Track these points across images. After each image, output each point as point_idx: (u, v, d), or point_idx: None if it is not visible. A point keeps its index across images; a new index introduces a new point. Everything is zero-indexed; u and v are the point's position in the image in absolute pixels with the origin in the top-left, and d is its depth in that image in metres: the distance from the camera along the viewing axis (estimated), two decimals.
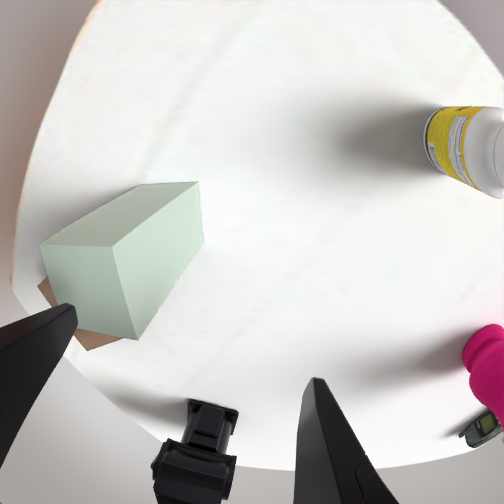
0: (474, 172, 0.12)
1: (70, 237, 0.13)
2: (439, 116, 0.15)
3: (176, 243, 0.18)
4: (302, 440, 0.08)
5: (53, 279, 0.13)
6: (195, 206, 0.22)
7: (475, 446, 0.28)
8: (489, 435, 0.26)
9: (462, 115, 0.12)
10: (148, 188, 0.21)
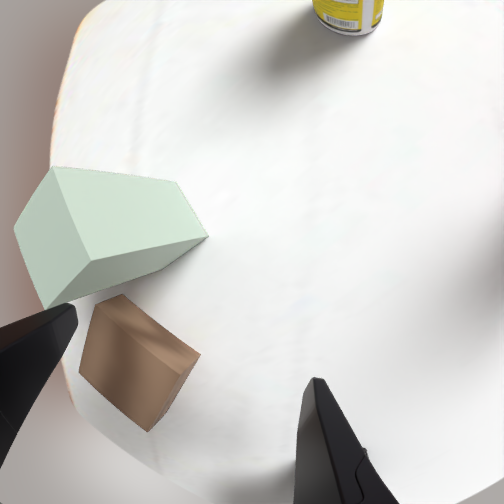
0: None
1: None
2: None
3: (154, 211, 0.17)
4: (302, 440, 0.08)
5: (26, 253, 0.12)
6: (178, 198, 0.21)
7: None
8: None
9: None
10: None
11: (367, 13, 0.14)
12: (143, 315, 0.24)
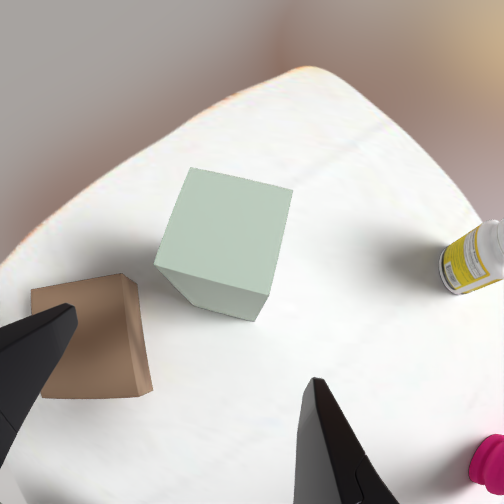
0: (486, 256, 0.18)
1: None
2: (452, 244, 0.24)
3: None
4: (302, 440, 0.08)
5: (186, 203, 0.13)
6: None
7: None
8: None
9: (471, 231, 0.21)
10: None
11: (470, 286, 0.22)
12: (139, 318, 0.23)
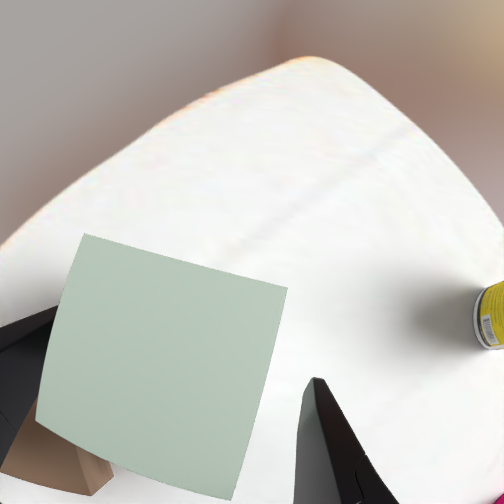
0: None
1: None
2: (492, 290, 0.17)
3: None
4: (302, 440, 0.08)
5: (72, 313, 0.06)
6: None
7: None
8: None
9: None
10: None
11: None
12: None
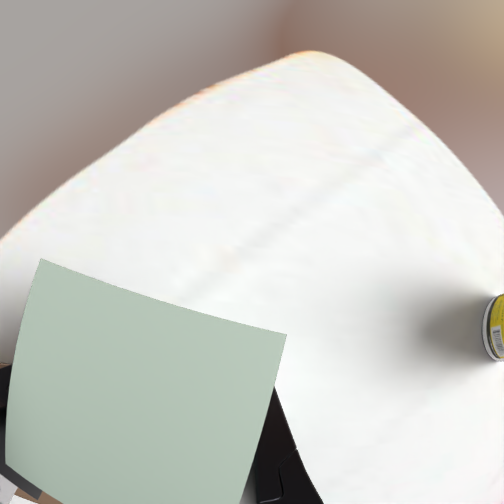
0: None
1: None
2: (503, 300, 0.15)
3: None
4: None
5: (30, 355, 0.04)
6: None
7: None
8: None
9: None
10: None
11: None
12: None
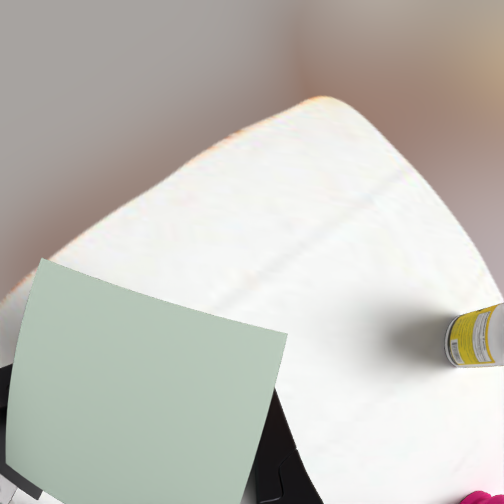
0: (495, 346, 0.16)
1: None
2: (462, 319, 0.22)
3: None
4: None
5: (31, 354, 0.04)
6: None
7: None
8: None
9: (484, 312, 0.19)
10: None
11: (474, 366, 0.19)
12: None
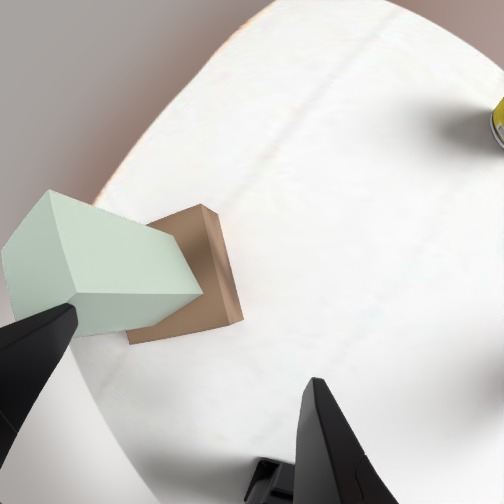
0: None
1: None
2: (497, 106, 0.17)
3: (149, 259, 0.16)
4: (302, 440, 0.08)
5: (10, 280, 0.11)
6: (174, 251, 0.20)
7: None
8: None
9: None
10: None
11: None
12: (224, 247, 0.24)
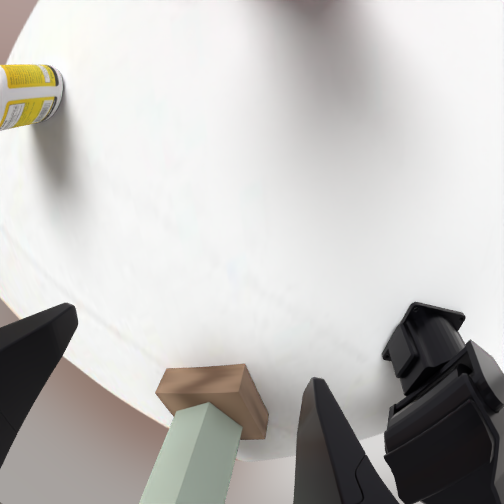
0: None
1: None
2: None
3: (177, 449, 0.21)
4: (302, 440, 0.08)
5: None
6: (182, 417, 0.26)
7: None
8: None
9: None
10: None
11: (39, 92, 0.15)
12: (189, 369, 0.29)
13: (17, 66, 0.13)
